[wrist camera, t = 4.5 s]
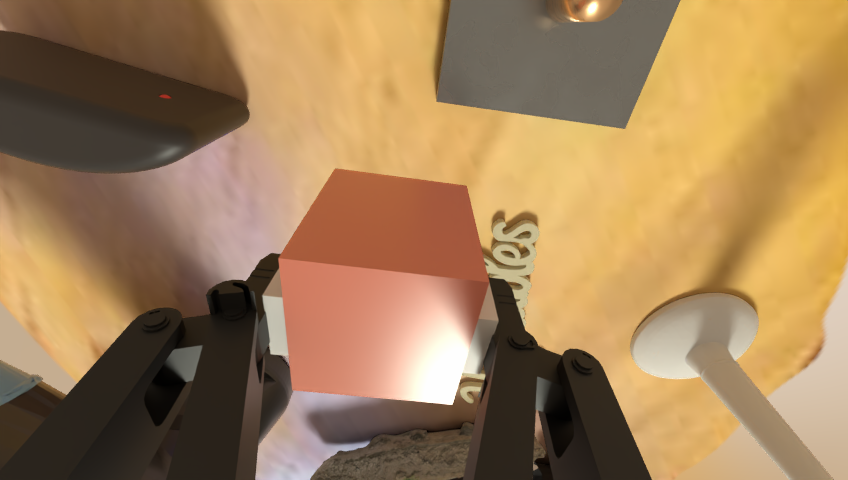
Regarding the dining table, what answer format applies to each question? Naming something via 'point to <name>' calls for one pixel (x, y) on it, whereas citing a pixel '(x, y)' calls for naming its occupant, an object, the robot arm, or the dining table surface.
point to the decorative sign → (508, 275)
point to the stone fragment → (406, 457)
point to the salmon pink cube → (383, 288)
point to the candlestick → (721, 369)
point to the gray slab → (552, 56)
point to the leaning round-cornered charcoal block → (101, 110)
